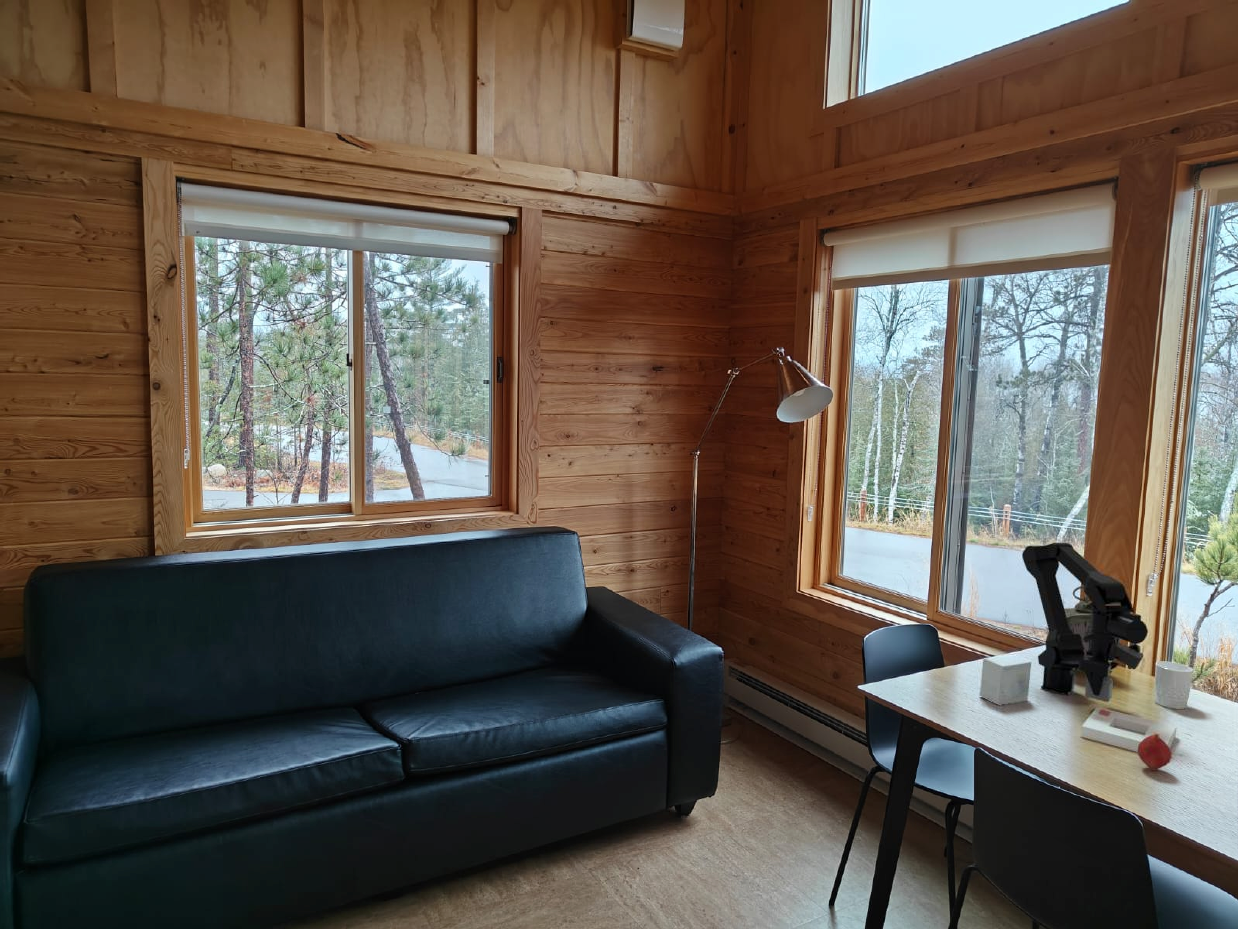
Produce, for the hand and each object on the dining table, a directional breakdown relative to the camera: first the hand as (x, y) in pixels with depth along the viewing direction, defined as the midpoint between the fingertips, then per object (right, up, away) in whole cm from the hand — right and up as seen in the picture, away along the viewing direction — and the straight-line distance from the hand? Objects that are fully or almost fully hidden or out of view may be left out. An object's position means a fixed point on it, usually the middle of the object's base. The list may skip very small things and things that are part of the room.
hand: (1098, 693), depth 201 cm
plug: (0, -1, 0) cm, 1 cm away
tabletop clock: (+12, -3, +29) cm, 31 cm away
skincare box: (-20, -4, +6) cm, 22 cm away
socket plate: (-2, -6, -15) cm, 16 cm away
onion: (-7, -7, -32) cm, 33 cm away
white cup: (+22, -5, +6) cm, 23 cm away
